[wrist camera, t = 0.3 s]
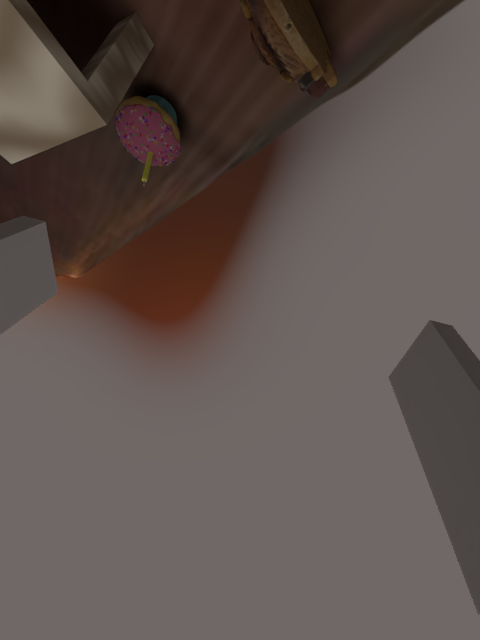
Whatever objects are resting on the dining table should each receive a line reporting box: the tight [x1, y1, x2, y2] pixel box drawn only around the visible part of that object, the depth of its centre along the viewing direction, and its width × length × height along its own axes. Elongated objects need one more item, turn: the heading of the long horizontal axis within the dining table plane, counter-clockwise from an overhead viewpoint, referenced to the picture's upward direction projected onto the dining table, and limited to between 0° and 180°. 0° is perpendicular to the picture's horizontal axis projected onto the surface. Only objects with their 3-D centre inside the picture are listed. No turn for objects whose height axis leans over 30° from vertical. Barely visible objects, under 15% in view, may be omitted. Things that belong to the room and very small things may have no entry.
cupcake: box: [116, 95, 181, 187], centre depth 39 cm, size 9×8×12 cm
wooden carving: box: [240, 0, 338, 98], centre depth 25 cm, size 16×5×10 cm, turn 49°
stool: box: [0, 0, 154, 164], centre depth 28 cm, size 17×17×14 cm
